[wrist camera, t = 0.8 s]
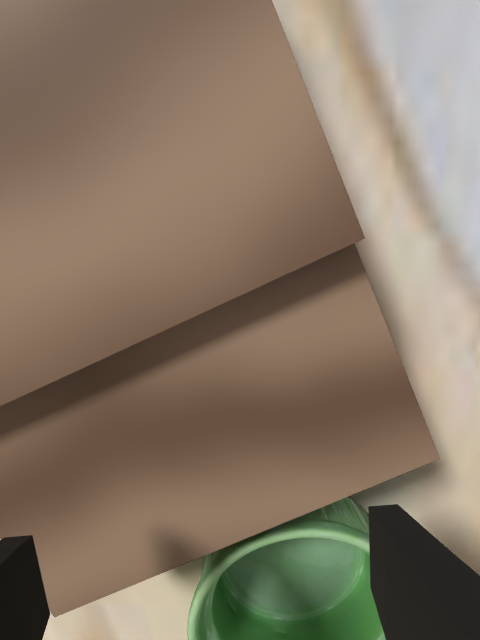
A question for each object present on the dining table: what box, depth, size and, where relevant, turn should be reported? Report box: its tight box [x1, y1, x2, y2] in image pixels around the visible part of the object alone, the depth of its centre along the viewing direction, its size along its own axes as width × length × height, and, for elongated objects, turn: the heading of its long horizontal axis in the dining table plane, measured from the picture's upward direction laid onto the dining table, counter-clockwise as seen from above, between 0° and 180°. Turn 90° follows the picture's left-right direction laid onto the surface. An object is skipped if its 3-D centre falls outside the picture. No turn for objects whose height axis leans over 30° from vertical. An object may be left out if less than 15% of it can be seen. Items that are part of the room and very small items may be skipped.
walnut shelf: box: [0, 0, 440, 617], centre depth 14 cm, size 20×13×7 cm
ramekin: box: [187, 497, 386, 640], centre depth 18 cm, size 9×9×4 cm
